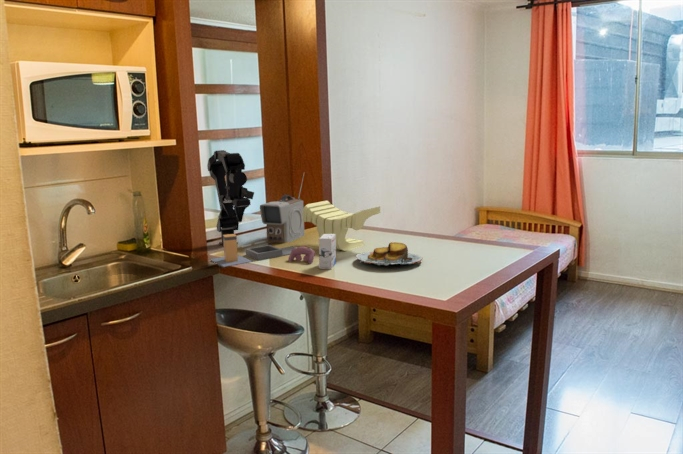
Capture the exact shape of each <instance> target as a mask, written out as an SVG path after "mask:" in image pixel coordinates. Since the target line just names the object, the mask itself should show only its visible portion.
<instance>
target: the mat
mask: <svg viewBox="0 0 683 454" xmlns="http://www.w3.org/2000/svg"><path fill="white" fill-rule="evenodd" d="M237 255H238V261H232V262H226V261H225V260H224V256H220V257H216V258H215V257H214V258H210V259H209V261H210V260H211V261H210V262H212V261H213V262H212V263H214V262H215V263H217V264H218V265H217V264H216V265H217V266H219V267H222V268H223V269H225V267H230V266H238V265H243V264H247V263H248V264H249V263H253V262H254V261H253V260H251V259H248V258H247V257H244V256H242V255H241V254H238V253H237ZM215 263H214V264H215Z"/></svg>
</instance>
